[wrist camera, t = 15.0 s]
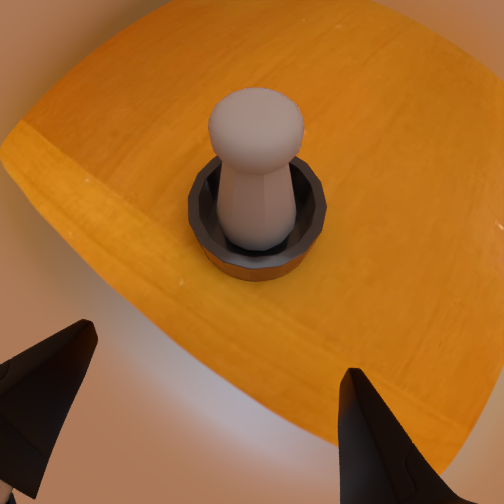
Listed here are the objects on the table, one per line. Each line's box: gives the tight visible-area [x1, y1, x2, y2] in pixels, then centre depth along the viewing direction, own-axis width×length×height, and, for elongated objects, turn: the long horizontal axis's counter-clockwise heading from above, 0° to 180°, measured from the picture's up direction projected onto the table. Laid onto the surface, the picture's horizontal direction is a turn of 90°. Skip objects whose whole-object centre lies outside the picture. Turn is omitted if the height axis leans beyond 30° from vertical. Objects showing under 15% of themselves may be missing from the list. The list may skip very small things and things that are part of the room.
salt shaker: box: [208, 88, 304, 251], centre depth 17 cm, size 6×6×13 cm
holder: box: [188, 156, 327, 282], centre depth 22 cm, size 10×10×4 cm
